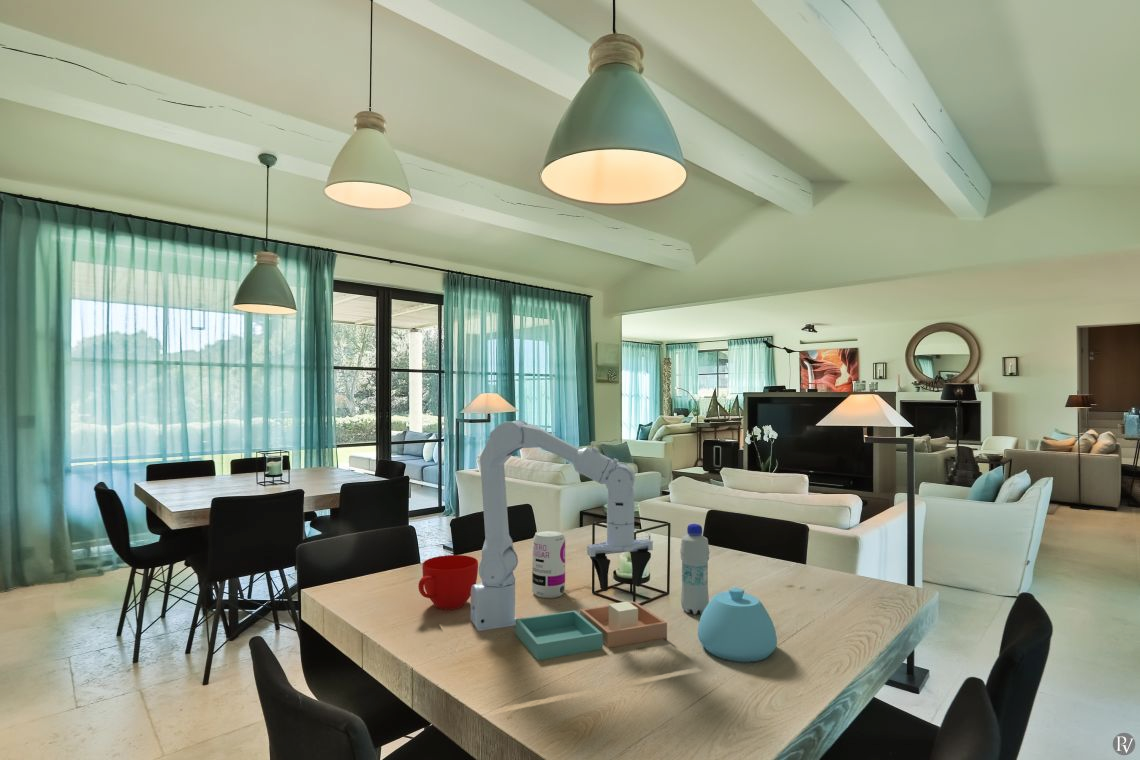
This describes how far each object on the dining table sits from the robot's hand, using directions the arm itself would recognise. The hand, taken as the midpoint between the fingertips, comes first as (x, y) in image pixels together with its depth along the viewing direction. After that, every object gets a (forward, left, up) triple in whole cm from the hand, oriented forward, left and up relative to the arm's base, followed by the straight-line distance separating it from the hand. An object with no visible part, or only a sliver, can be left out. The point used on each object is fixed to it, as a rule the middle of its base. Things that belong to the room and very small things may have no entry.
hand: (620, 587), depth 124 cm
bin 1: (-14, 0, -9) cm, 17 cm away
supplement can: (-5, +29, -10) cm, 31 cm away
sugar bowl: (+18, -15, -10) cm, 25 cm away
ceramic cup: (-31, +29, -10) cm, 43 cm away
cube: (0, -1, -9) cm, 9 cm away
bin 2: (0, 0, -9) cm, 9 cm away
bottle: (+22, +5, -10) cm, 24 cm away
